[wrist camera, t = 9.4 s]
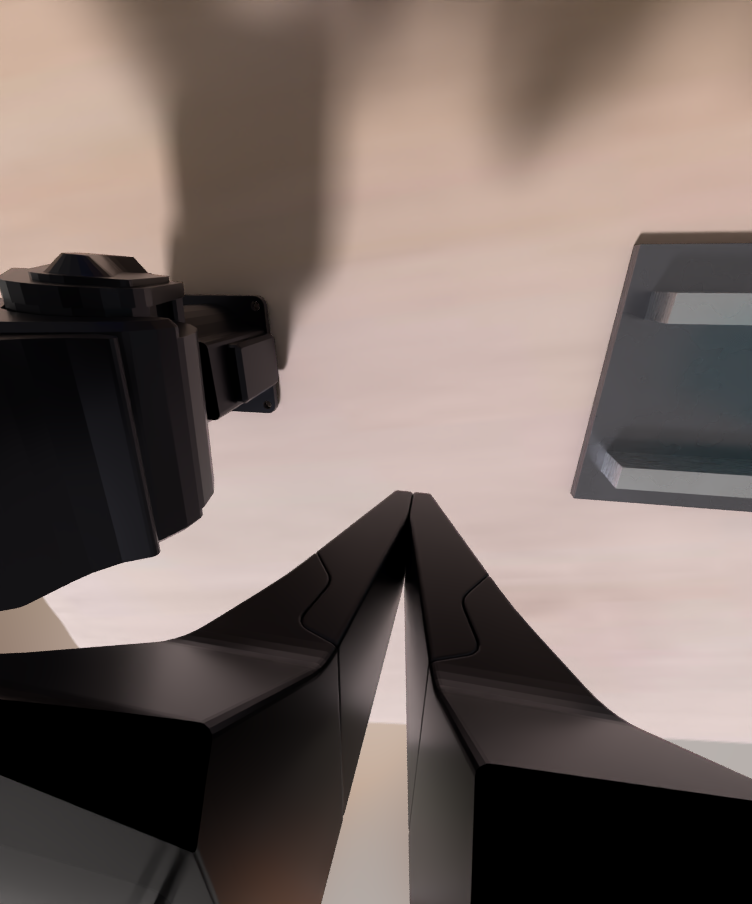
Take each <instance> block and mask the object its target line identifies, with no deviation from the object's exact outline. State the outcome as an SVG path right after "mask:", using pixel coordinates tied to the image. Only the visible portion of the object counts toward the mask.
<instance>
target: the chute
mask: <svg viewBox="0 0 752 904" xmlns="http://www.w3.org/2000/svg"><path fill="white" fill-rule="evenodd" d="M571 495H572V496H573V498H578V499H591V500H604V501H617V502H630V503H643V504H656V505H669V506H682V507H695V508H708V509H721V510H734V511H747V512H752V243H726V244H639V245H634V248H633V252H632V256H631V260H630V263H629V267H628V271H627V275H626V279H625V283H624V287H623V291H622V295H621V298H620V302H619V306H618V310H617V314H616V318H615V322H614V326H613V330H612V333H611V337H610V341H609V345H608V349H607V353H606V357H605V361H604V365H603V369H602V372H601V376H600V380H599V384H598V388H597V392H596V396H595V400H594V404H593V407H592V411H591V415H590V419H589V423H588V427H587V431H586V435H585V439H584V442H583V446H582V450H581V454H580V458H579V462H578V466H577V470H576V474H575V477H574V481H573V485H572V489H571Z"/></svg>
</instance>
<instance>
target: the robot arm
mask: <svg viewBox="0 0 752 904" xmlns="http://www.w3.org/2000/svg"><path fill="white" fill-rule="evenodd" d="M0 292H1V295H2V298H0V611H3V610H9V609H15V608H19V607H22V606H24V605H27V604H29V603H31V602H33V601H35V600H37V599H39V598H41V597H43V596H45V595H47V594H49V593H51V592H53V591H55V590H57V589H59V588H61V587H63V586H65V585H67V584H69V583H71V582H73V581H75V580H78V579H80V578H82V577H84V576H86V575H89V574H91V573H93V572H96V571H99V570H102V569H105V568H108V567H111V566H114V565H117V564H120V563H124V562H129V561H134V560H139V559H144V558H149V557H154V556H156V555H158V554H159V553H160V547H159V542H161V541H163V540H165V539H167V538H169V537H171V536H173V535H175V534H177V533H179V532H181V531H183V530H185V529H186V528H188V527H189V526H190V525H192V524H193V523H194V522H196V521H197V520H198V519H200V518H201V517H202V515H203V513H202V508H203V507H204V506H205V505H206V503H207V502H208V500H209V499H210V497H211V496H212V494H213V493H214V475H213V466H212V457H211V448H210V439H209V430H208V422H210V421H212V420H218V419H219V418H221V417H222V416H224V415H226V414H227V413H229V412H230V411H241V412H259V413H271V412H273V411H274V410H275V409H276V408H277V407H278V400H277V390H276V383H277V382H278V381H279V377H278V368H277V358H276V349H275V340H274V337H273V336H272V335H271V334H270V327H269V318H268V309H267V304H266V301H265V300H264V298H262V297H261V296H242V295H184V288H183V282H175V281H169V276H162V275H155V274H151V273H147V271H146V270H145V269H144V268H143V267H142V266H141V265H140V264H139V263H138V262H137V260H136V259H135V258H134V257H126V256H115V255H103V254H90V253H61V254H60V255H59V256H58V257H57V258H56V259H55V260H54V261H53V262H52V263H51V264H48V265H43V266H39V267H34V268H30V269H27V268H11V269H9V270H8V271H6V272H4V273H3V274H1V275H0ZM255 301H257V302H258V303H259V305H260V309H259V310H256V309H255V307H254V303H255ZM266 401H269V402H270V403H271V407H268V406H267V404H266ZM404 578H405V583H404ZM403 584H404V604H405V659H406V715H407V767H408V768H407V770H408V825H409V884H410V904H752V779H751V778H749V777H746V776H744V775H742V774H740V773H737V772H735V771H733V770H731V769H729V768H726V767H724V766H722V765H720V764H718V763H715V762H713V761H711V760H708V759H706V758H704V757H702V756H700V755H698V754H695V753H693V752H691V751H689V750H686V749H684V748H682V747H680V746H678V745H675V744H673V743H671V742H669V741H666V740H664V739H662V738H660V737H658V736H655V735H653V734H651V733H649V732H646V731H644V730H642V729H640V728H638V727H636V726H634V725H632V724H630V723H628V722H627V721H625V720H623V719H622V718H620V717H619V716H617V715H616V714H615V713H613V712H612V711H611V710H609V709H608V708H607V707H606V706H605V705H603V704H602V703H601V702H600V701H599V700H598V699H597V698H596V697H595V696H594V695H593V694H592V693H591V692H590V691H589V690H588V689H587V688H586V687H585V686H584V685H583V684H582V683H581V682H580V681H579V679H578V678H577V677H576V676H575V675H574V674H573V673H572V672H571V671H570V670H569V669H568V667H567V666H566V665H565V664H564V663H563V662H562V661H561V660H560V659H559V658H558V657H557V655H556V654H555V653H554V652H553V651H552V650H551V649H550V648H549V647H548V646H547V645H546V643H545V642H544V641H543V640H542V639H541V638H540V637H539V636H538V635H537V634H536V633H535V631H534V630H533V629H532V628H531V627H530V626H529V625H528V623H527V622H526V621H525V620H524V619H523V618H522V617H521V615H520V614H519V613H518V612H517V611H516V610H515V609H514V607H513V606H512V605H511V604H510V602H509V601H508V600H507V598H506V597H505V596H504V594H503V593H502V592H501V591H500V589H499V588H498V587H497V585H496V584H495V582H494V581H493V580H492V578H491V577H489V574H488V573H487V572H486V570H485V569H484V567H483V566H482V565H481V563H480V562H479V560H478V559H477V558H476V556H475V555H474V554H473V552H472V551H471V549H470V548H469V547H468V545H467V544H466V542H465V541H464V540H463V538H462V537H461V536H460V534H459V533H458V531H457V530H456V529H455V527H454V526H453V524H452V523H451V522H450V520H449V519H448V518H447V516H446V515H445V513H444V512H443V511H442V509H441V508H440V506H439V505H438V504H437V502H436V501H435V500H434V498H433V497H432V495H431V494H428V493H418V492H415V493H414V494H412V493H411V492H408V491H399V490H397V491H395V492H393V493H392V494H391V495H389V496H388V497H387V498H386V499H384V500H383V501H382V502H380V503H379V504H378V505H377V506H375V507H374V508H373V509H371V510H370V511H369V512H368V513H366V514H365V515H364V516H362V517H361V518H360V519H359V520H357V521H356V522H355V523H353V524H352V525H351V526H350V527H348V528H347V529H346V530H344V531H343V532H342V533H341V534H339V535H338V536H337V537H335V538H334V539H333V540H332V541H330V542H329V543H328V544H326V545H325V546H324V547H322V548H321V549H320V550H319V551H317V553H316V554H313V555H312V556H311V557H309V558H308V559H307V560H306V561H304V562H303V563H302V564H300V565H299V566H297V567H296V568H295V569H293V570H292V571H291V572H289V573H288V574H286V575H285V576H283V577H282V578H280V579H279V580H277V581H276V582H274V583H273V584H271V585H270V586H268V587H267V588H265V589H263V590H262V591H260V592H259V593H257V594H255V595H254V596H252V597H250V598H249V599H247V600H246V601H244V602H242V603H241V604H239V605H237V606H236V607H234V608H233V609H231V610H229V611H228V612H226V613H224V614H223V615H221V616H220V617H218V618H216V619H215V620H213V621H212V622H210V623H208V624H207V625H205V626H203V627H201V628H199V629H198V630H196V631H193V632H191V633H189V634H187V635H184V636H181V637H178V638H175V639H171V640H167V641H161V642H152V643H140V644H127V645H115V646H102V647H90V648H77V649H65V650H52V651H40V652H27V653H7V654H0V904H321V901H322V898H323V894H324V890H325V887H326V883H327V879H328V875H329V871H330V867H331V864H332V859H333V855H334V852H335V848H336V844H337V840H338V836H339V833H340V829H341V824H342V821H343V815H344V813H345V809H346V805H347V801H348V798H349V794H350V790H351V786H352V782H353V778H354V774H355V770H356V767H357V763H358V759H359V755H360V751H361V747H362V743H363V740H364V736H365V732H366V728H367V724H368V720H369V716H370V713H371V709H372V705H373V701H374V697H375V693H376V689H377V686H378V682H379V678H380V674H381V670H382V666H383V662H384V658H385V655H386V651H387V647H388V643H389V639H390V635H391V631H392V628H393V624H394V620H395V616H396V612H397V608H398V604H399V601H400V597H401V593H402V588H403Z"/></svg>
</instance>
